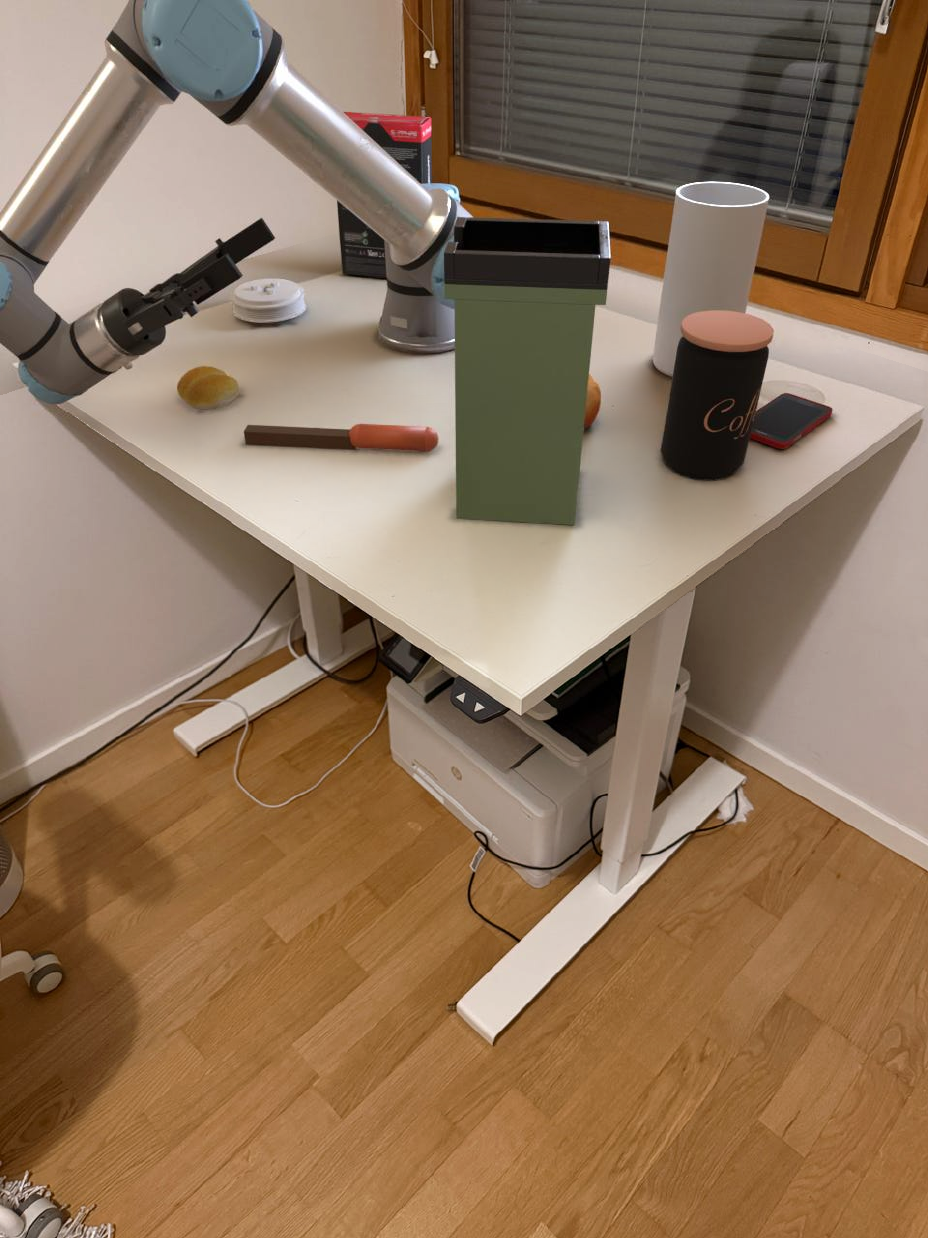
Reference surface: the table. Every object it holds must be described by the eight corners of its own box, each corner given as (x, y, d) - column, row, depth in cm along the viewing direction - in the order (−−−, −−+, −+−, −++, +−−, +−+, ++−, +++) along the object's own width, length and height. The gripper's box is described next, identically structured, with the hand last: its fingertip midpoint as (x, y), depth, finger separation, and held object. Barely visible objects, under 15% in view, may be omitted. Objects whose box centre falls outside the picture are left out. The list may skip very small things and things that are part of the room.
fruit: (608, 399, 125) (606, 364, 118) (595, 446, 123) (593, 414, 115) (553, 390, 127) (548, 356, 120) (539, 437, 125) (533, 405, 117)
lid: (225, 308, 156) (220, 279, 153) (293, 296, 160) (289, 268, 157) (245, 333, 147) (240, 303, 144) (316, 320, 152) (313, 290, 149)
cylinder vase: (700, 391, 130) (733, 211, 114) (635, 364, 138) (657, 192, 122) (749, 367, 137) (787, 194, 121) (685, 343, 144) (712, 177, 128)
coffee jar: (694, 491, 109) (721, 351, 97) (642, 453, 116) (662, 319, 105) (760, 470, 113) (794, 334, 101) (706, 435, 120) (732, 303, 108)
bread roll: (200, 416, 124) (195, 390, 122) (171, 395, 130) (165, 369, 127) (252, 399, 128) (247, 373, 126) (221, 379, 134) (217, 354, 131)
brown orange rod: (244, 447, 118) (240, 425, 116) (251, 435, 120) (247, 414, 118) (437, 456, 116) (436, 434, 114) (440, 444, 118) (439, 422, 116)
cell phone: (833, 414, 124) (835, 407, 124) (783, 451, 116) (785, 445, 116) (783, 397, 128) (784, 391, 128) (731, 432, 120) (733, 426, 120)
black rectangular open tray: (444, 283, 87) (443, 252, 85) (457, 245, 96) (457, 216, 94) (607, 289, 85) (610, 258, 84) (605, 250, 95) (608, 221, 93)
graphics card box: (436, 272, 170) (433, 112, 153) (427, 284, 165) (422, 120, 148) (352, 265, 173) (340, 108, 156) (340, 277, 168) (326, 115, 151)
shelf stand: (447, 518, 104) (444, 283, 87) (458, 466, 114) (457, 245, 96) (583, 526, 103) (607, 289, 85) (583, 473, 112) (605, 250, 95)
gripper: (177, 317, 122) (297, 242, 114) (102, 398, 103) (240, 314, 95) (140, 269, 118) (261, 187, 110) (55, 343, 99) (194, 250, 91)
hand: (252, 245), depth 102 cm, fingers open, 13 cm apart
